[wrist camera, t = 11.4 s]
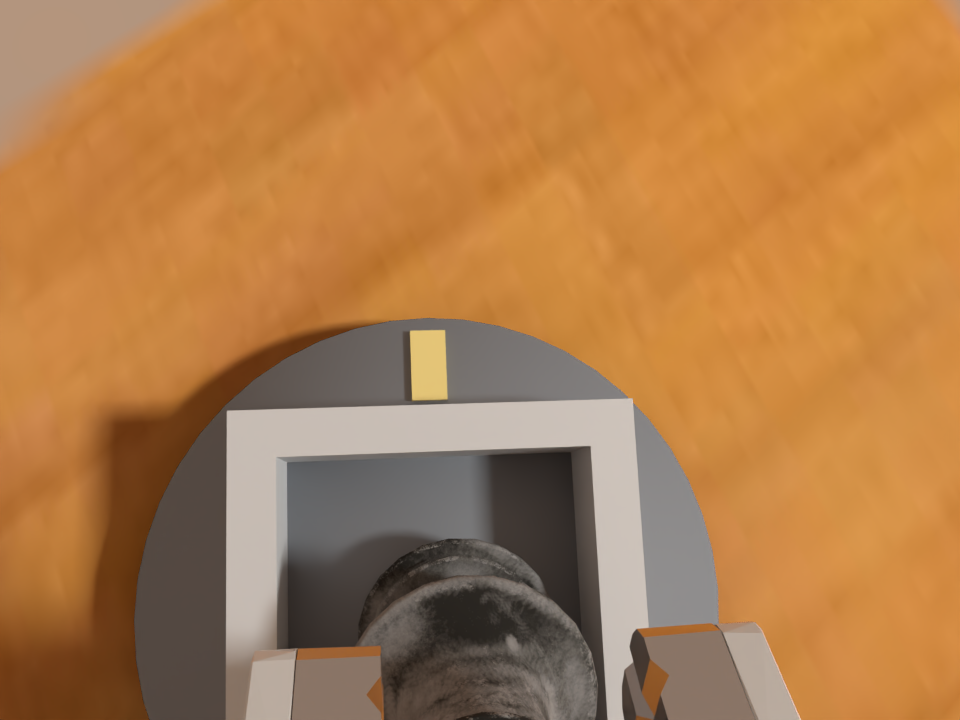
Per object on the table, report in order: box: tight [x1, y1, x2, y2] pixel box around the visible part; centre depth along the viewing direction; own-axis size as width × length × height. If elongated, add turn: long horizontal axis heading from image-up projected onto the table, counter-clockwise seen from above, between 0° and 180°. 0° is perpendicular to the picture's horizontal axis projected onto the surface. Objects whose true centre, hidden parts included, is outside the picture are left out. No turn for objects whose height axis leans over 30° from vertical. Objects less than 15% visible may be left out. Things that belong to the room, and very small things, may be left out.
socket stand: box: [134, 318, 719, 720], centre depth 24 cm, size 16×16×4 cm
